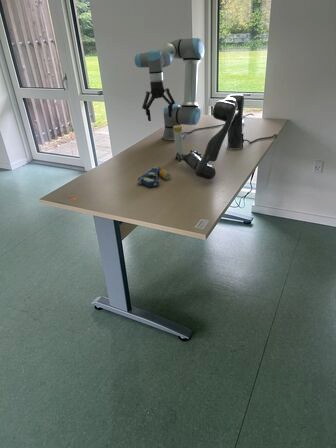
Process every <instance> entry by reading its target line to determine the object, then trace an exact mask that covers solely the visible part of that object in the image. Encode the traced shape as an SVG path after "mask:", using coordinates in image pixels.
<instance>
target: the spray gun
mask: <svg viewBox="0 0 336 448" xmlns="http://www.w3.org/2000/svg"><path fill="white" fill-rule="evenodd" d="M158 177H160V178H162V179H164V180H165V181H168V180H169V179H170V178H171V173H170V172H169V171H167V170H166V169H162V168H161V167H160V166H157V167H155V166H151V167H150V169H148V170H147V171H146V172H144V173H143V174H142V175H141V176H140V177H138V179H137V184H140V185H141V186H143V185H144V186H146V187H148V188H151V187H157V186H158V185H160V181H161V180H160V179H158Z"/></svg>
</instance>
